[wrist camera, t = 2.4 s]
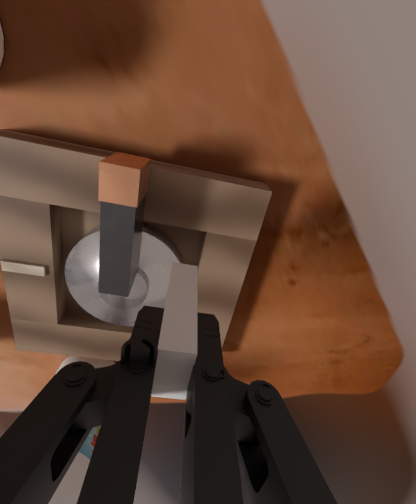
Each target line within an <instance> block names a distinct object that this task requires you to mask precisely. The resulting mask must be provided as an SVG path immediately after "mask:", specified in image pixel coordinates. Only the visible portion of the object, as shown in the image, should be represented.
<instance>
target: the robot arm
mask: <svg viewBox="0 0 416 504" xmlns="http://www.w3.org/2000/svg"><path fill="white" fill-rule="evenodd" d="M197 284H198V266H194V265H188V264H182V263H176V262H172V268H171V274H170V279H169V285H168V291H167V297H166V303H165V308H159V307H152V306H145V305H144V306H143V307H142V308H141V309H140V310H139V311H138V314H137V317H136V321H135V324H134V328H133V330H132V334H131V337H130V339H129V340H128V341H126V342H125V343H124V344H123V346H122V348H121V358H120V361H118V362H117V363H115V364H113V365H110V366H107V367H101V368H94V366H93V365H91V364H90V363H88V362H83V361H78V362H72V363H70V364H68V365H65V366H64V367H63V368H61V369H60V370H59V371H58V372H57V373H56V374H55V376H54V377H53V378H52V379H51V380H50V381H49V382H48V384H47V385H46V386H45V387H44V388H43V389H42V390H41V392H40V393H39V394H38V395H37V396H36V397H35V399H34V400H33V401H32V402H31V403H30V404H29V405H28V407H27V408H26V409H25V410H24V411H23V412H22V413H21V415H20V416H19V417H18V418H17V419H16V420H15V422H14V423H13V424H12V425H11V426H10V427H9V429H8V430H7V431H6V432H5V433H4V434H3V435H2V436H1V438H0V504H48V503H49V501H50V500H51V498H52V496H53V495H54V493H55V491H56V489H57V488H58V486H59V484H60V483H61V481H62V479H63V478H64V476H65V474H66V472H67V471H68V469H69V467H70V466H71V464H72V462H73V461H74V459H75V457H76V455H77V454H78V452H79V450H80V449H81V447H82V445H83V443H84V442H85V440H86V438H87V437H88V435H89V433H90V432H91V430H92V428H93V427H97V426H101V427H100V430H99V433H98V436H97V440H96V443H95V446H94V449H93V453H92V456H91V459H90V462H89V465H88V469H87V472H86V475H85V478H84V482H83V485H82V488H81V491H80V495H79V498H78V501H77V504H133V501H134V494H135V489H136V483H137V476H138V471H139V464H140V459H141V453H142V447H143V440H144V434H145V428H146V422H147V416H148V410H149V404H150V398H151V396H153V397H163V398H173V399H183V400H185V399H186V395H187V402H186V408H185V412H184V416H183V419H182V423H181V424H182V425H184V428H183V449H182V450H183V451H182V469H181V489H180V504H243V498H242V489H241V480H240V472H239V465H240V468H241V471H242V475H243V478H244V481H245V484H246V487H247V491H248V494H249V497H250V500H251V503H252V504H337V502H336V500H335V498H334V496H333V495H332V493H331V491H330V489H329V487H328V485H327V483H326V481H325V479H324V478H323V476H322V474H321V472H320V470H319V468H318V466H317V464H316V462H315V461H314V459H313V457H312V455H311V453H310V451H309V449H308V447H307V445H306V443H305V441H304V439H303V438H302V436H301V434H300V432H299V430H298V428H297V426H296V424H295V422H294V420H293V419H292V417H291V415H290V413H289V411H288V409H287V407H286V405H285V403H284V401H283V399H282V398H281V396H280V394H279V392H278V391H277V390H276V388H275V387H273V386H272V385H271V384H270V383H267V382H265V381H260V380H256V381H254V382H252V383H251V384H250V385H248V384H245V383H243V382H240V381H238V380H236V379H234V378H233V377H232V376H230V375H229V374H228V372H227V370H226V369H225V367H224V364H223V357H222V347H221V338H220V328H219V321H218V320H217V318H216V317H215V315H214V314H206V313H199V312H197ZM238 462H239V463H238Z"/></svg>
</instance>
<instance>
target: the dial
mask: <svg viewBox="0 0 416 504" xmlns="http://www.w3.org/2000/svg"><path fill="white" fill-rule="evenodd" d="M150 164H151V159H149V158H145V157H140V156H135V155H130V154H125V153H120V152H116V153H114V154H113V155H111V156H109V157H107V158H105V159H103V160H101V161H99V193H98V201H100V225H98V226H96V227H95V228H93V229H91V230H90V231H89V232H88V233H86V234H85V235H84V236H83V238H82V239H81V240H80V241H79V242H78V243H77V244H76V245H75V246H74V248H73V249H72V250H71V252H70V254H69V255H68V258H67V260H66V265H65V279H66V283H67V287H68V289H69V291H70V293H71V295H72V296H73V298H74V299H75V300H76V302H77V303H78V304H79V305H80V306H81V307H82V308H83V309H84V310H86V311H87V312H88V313H90V314H91V315H93V316H94V317H96V318H98V319H100V320H102V321H105V322H108V323H111V324H115V325H120V326H134V324H135V321H136V317H137V314H138V311H139V310H140V309H141V308H142V307H143V306H144V305H145V306H152V307H159V308H165V303H166V297H167V291H168V285H169V279H170V274H171V268H172V262H176V263H182V264H184V261H183V258H182V255H181V253H180V252H179V250H178V248H177V247H176V245H175V244H174V243H173V242H172V241H171V240H170V238H168V237H167V236H166V235H165V234H164V233H162V232H161V231H159V230H157V229H156V228H154V227H152V226H149V225H147V224H144V223H143V219H144V209H145V199H146V193H147V191H148V183H149V173H150Z"/></svg>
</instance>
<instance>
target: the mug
mask: <svg viewBox="0 0 416 504" xmlns="http://www.w3.org/2000/svg"><path fill="white" fill-rule="evenodd" d="M3 55H4V36H3V32H2V28H1V23H0V66H1V62H2V59H3Z"/></svg>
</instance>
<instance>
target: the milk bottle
mask: <svg viewBox="0 0 416 504" xmlns="http://www.w3.org/2000/svg"><path fill="white" fill-rule="evenodd" d="M78 361H83V362H88V363H90V364H91V365H93V366H94V368H101V367H107V366H110V365H113V364H115V363H116V362H115V361H113V360H104V359H95V358H86V357H77V356H69V357H67V358H66V359H65V360H64V361H63V362H62V364H61V365H60V367H59V369H58V370H57V372H58V371H59V370H60V369H61V368H63V367H64V366H65V365H68V364H70V363H72V362H78ZM57 372H56V373H57ZM100 427H101V426H97V427H93V428H92V430H91V432H90V433H89V435H88V437H87V438H86V440H85V442H84V443H83V445H82V447H81V449H80V450H79V452H78V454H77V455H76V457H75V459H74V461H73V462H72V464H71V466H70V467H69V469H68V471H67V472H66V474H65V476H64V478H63V479H62V481H61V483H60V484H59V486H58V488H57V489H56V491H55V493H54V495H53V496H52V498H51V500H50V501H49V503H48V504H77V501H78V498H79V495H80V491H81V488H82V485H83V482H84V478H85V475H86V472H87V469H88V465H89V462H90V459H91V456H92V453H93V449H94V446H95V443H96V440H97V436H98V433H99V430H100Z"/></svg>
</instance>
